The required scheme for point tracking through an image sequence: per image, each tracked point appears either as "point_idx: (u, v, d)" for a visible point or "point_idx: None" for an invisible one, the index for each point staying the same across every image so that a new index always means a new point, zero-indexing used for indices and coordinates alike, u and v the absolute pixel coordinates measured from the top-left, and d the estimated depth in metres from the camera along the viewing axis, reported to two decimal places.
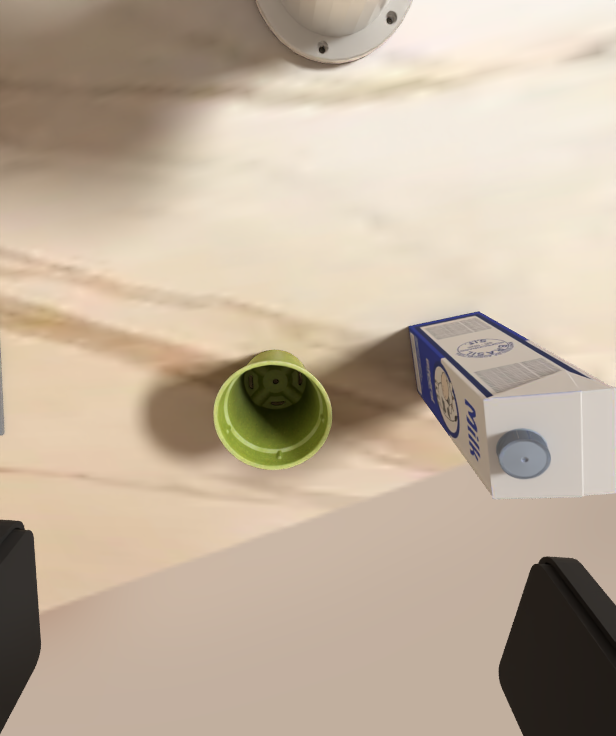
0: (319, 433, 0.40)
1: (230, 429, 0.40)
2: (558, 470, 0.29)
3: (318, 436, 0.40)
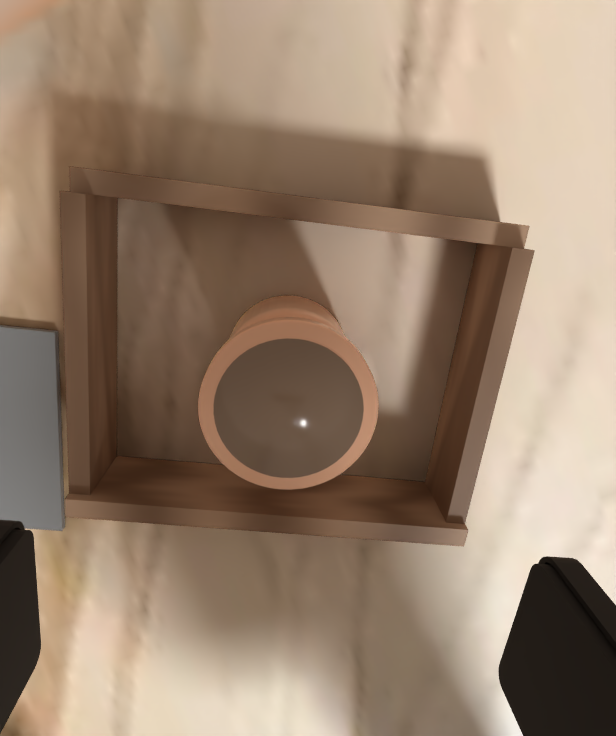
0: None
1: None
2: None
3: None
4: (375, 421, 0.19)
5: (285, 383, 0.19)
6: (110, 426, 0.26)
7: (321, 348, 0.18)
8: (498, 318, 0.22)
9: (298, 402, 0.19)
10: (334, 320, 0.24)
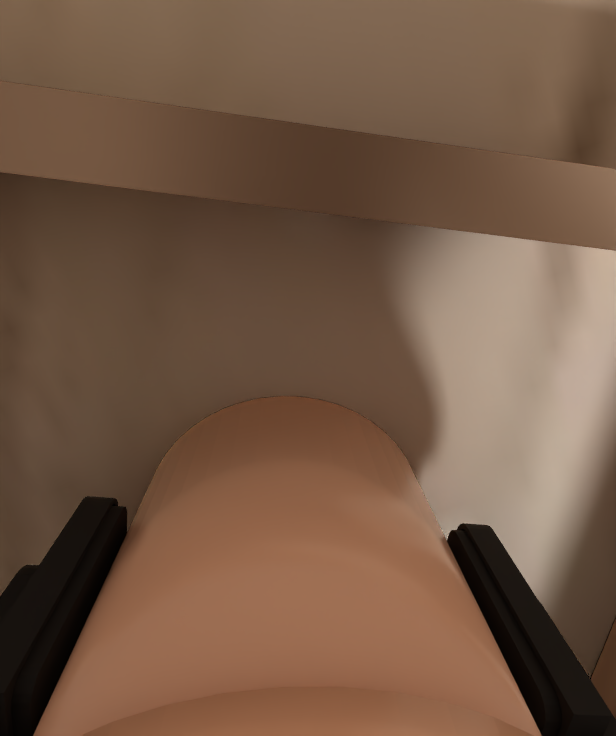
0: None
1: None
2: None
3: None
4: None
5: None
6: None
7: None
8: None
9: None
10: (405, 471, 0.09)
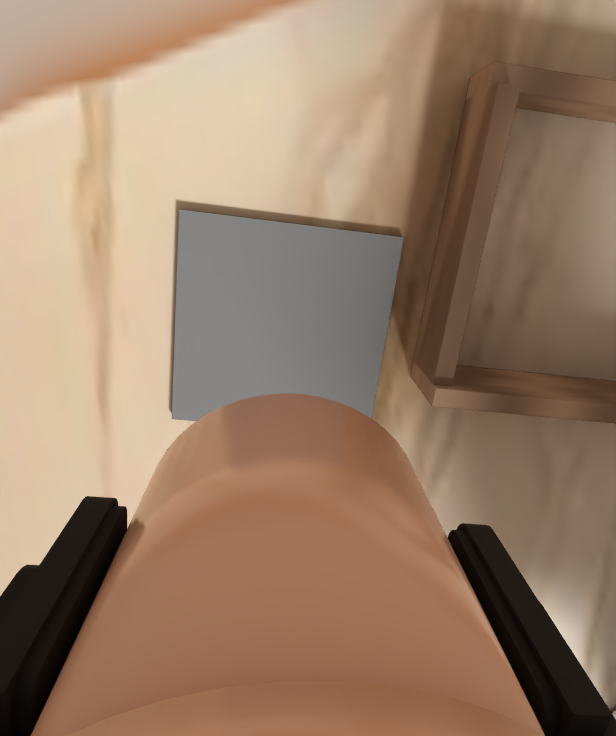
0: None
1: None
2: None
3: None
4: None
5: None
6: None
7: None
8: None
9: None
10: (406, 469, 0.09)
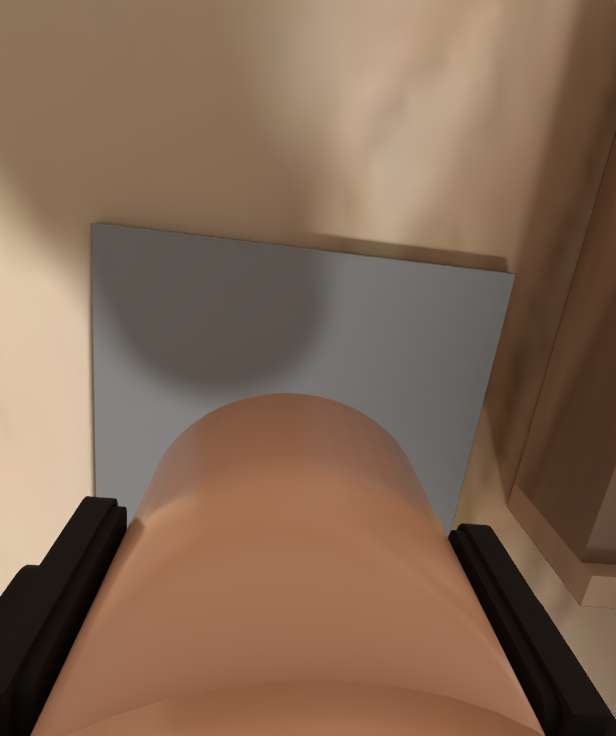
0: None
1: None
2: None
3: None
4: None
5: None
6: None
7: None
8: None
9: None
10: (406, 468, 0.09)
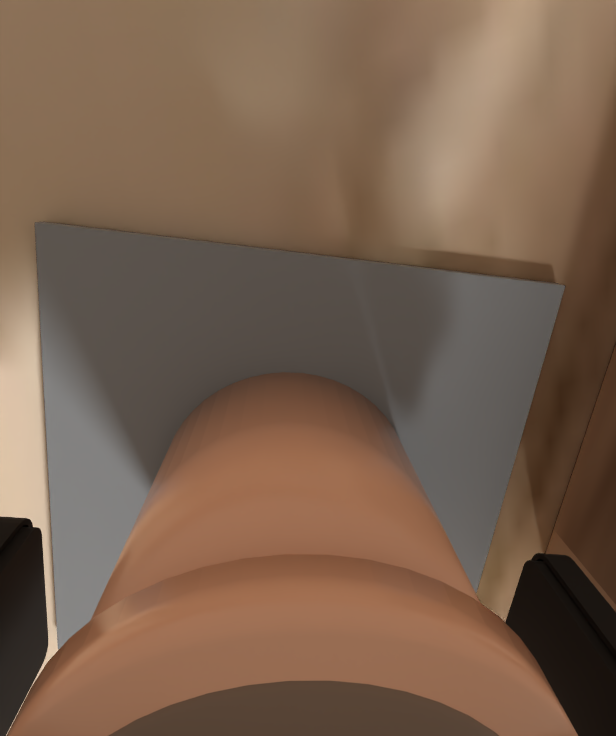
0: None
1: None
2: None
3: None
4: None
5: None
6: None
7: (421, 710, 0.05)
8: None
9: None
10: (391, 435, 0.11)
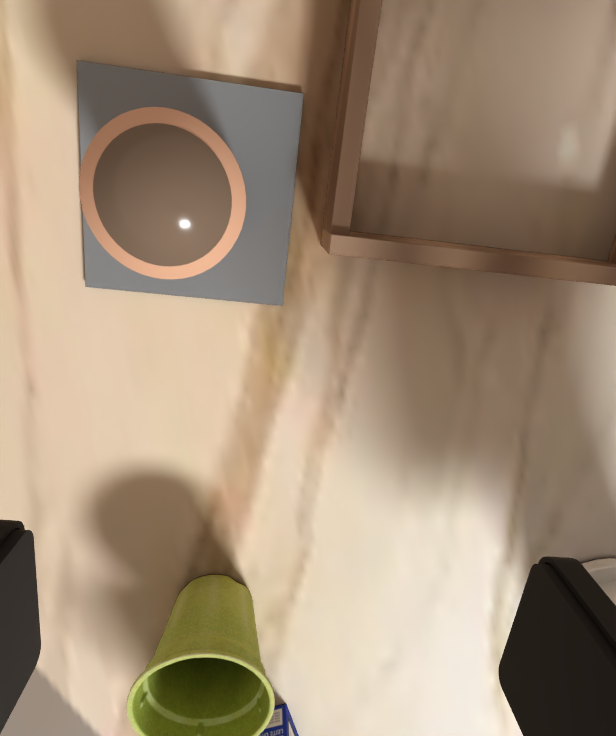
0: (181, 735, 0.34)
1: (171, 648, 0.32)
2: None
3: None
4: (243, 209, 0.21)
5: (157, 169, 0.21)
6: None
7: (187, 133, 0.20)
8: None
9: (171, 190, 0.21)
10: None
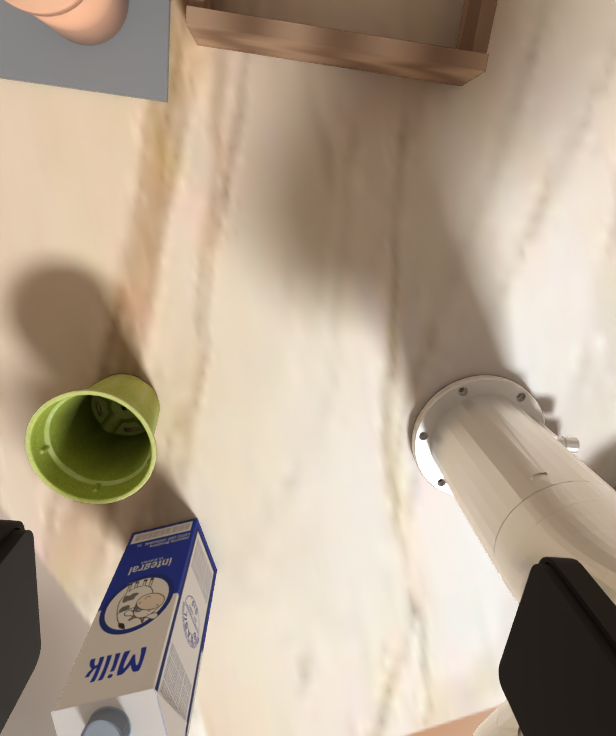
0: (78, 488, 0.38)
1: (67, 397, 0.36)
2: None
3: (75, 488, 0.38)
4: None
5: None
6: None
7: None
8: None
9: None
10: None
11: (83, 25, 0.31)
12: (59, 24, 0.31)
